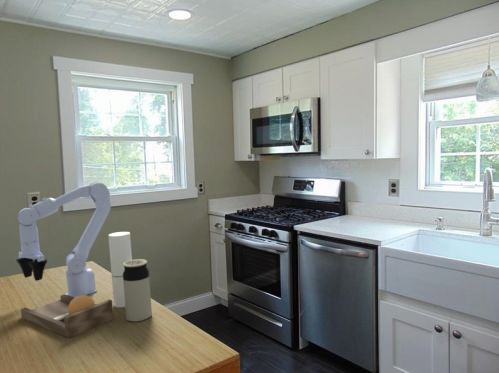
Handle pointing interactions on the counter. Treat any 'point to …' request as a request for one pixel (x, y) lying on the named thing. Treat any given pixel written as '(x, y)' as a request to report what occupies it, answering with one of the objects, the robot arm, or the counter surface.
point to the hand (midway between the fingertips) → (33, 278)
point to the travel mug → (137, 290)
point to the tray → (68, 316)
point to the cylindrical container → (119, 263)
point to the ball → (80, 304)
